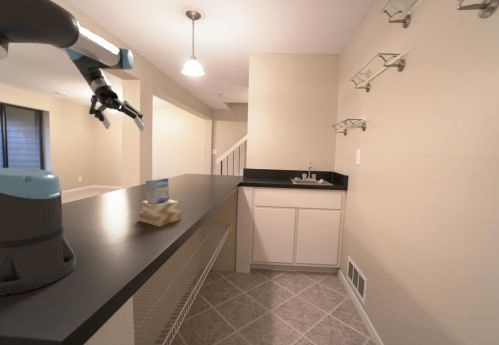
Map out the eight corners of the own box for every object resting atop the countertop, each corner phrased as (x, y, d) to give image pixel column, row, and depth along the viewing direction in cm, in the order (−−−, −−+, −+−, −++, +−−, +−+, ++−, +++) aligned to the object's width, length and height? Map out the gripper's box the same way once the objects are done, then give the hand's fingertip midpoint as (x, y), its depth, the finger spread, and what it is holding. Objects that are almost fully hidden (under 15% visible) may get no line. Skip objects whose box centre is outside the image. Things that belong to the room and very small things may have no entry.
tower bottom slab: (159, 228, 83) (158, 217, 82) (139, 222, 89) (138, 212, 89) (181, 220, 91) (180, 210, 91) (161, 215, 98) (161, 206, 97)
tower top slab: (156, 217, 83) (155, 206, 82) (142, 211, 90) (142, 201, 89) (178, 211, 89) (178, 201, 89) (164, 206, 97) (163, 197, 96)
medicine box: (157, 204, 85) (156, 180, 84) (146, 203, 86) (145, 180, 85) (169, 199, 92) (168, 178, 92) (159, 199, 94) (158, 177, 93)
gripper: (130, 104, 108) (151, 136, 102) (66, 94, 87) (88, 133, 81) (136, 91, 105) (158, 123, 98) (71, 77, 84) (94, 116, 77)
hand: (126, 127), depth 90 cm, fingers open, 13 cm apart
